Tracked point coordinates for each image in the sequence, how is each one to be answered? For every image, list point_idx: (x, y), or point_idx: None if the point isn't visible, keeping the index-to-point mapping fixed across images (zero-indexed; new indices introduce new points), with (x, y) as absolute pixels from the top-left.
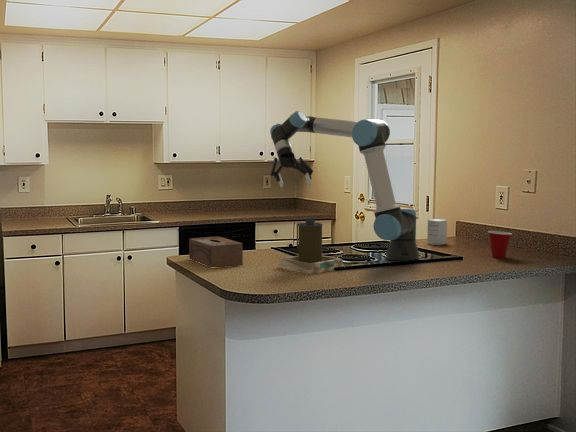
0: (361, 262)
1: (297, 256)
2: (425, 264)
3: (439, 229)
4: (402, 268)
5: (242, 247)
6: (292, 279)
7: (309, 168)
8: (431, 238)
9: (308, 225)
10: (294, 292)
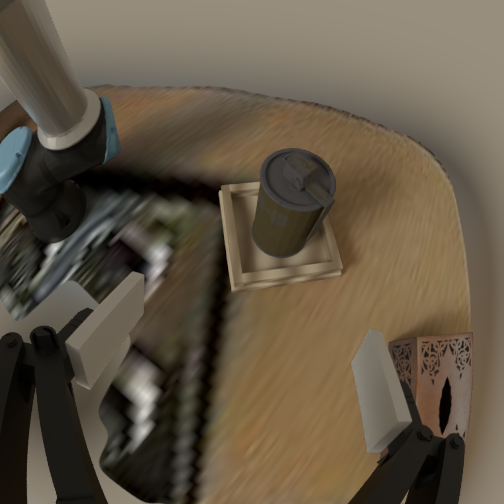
0: (142, 223)
1: (291, 267)
2: None
3: None
4: (139, 145)
5: (411, 338)
6: (359, 176)
7: (2, 369)
8: None
9: (320, 158)
10: (383, 126)
